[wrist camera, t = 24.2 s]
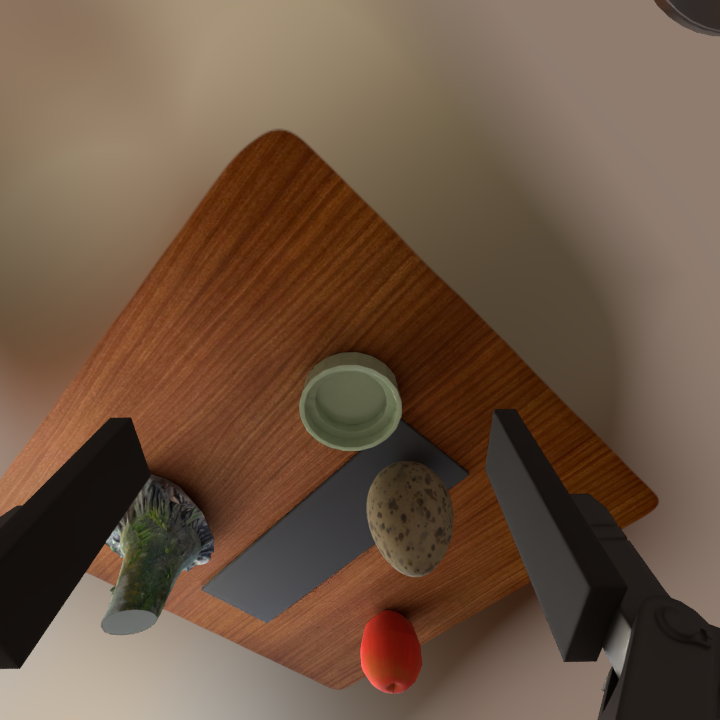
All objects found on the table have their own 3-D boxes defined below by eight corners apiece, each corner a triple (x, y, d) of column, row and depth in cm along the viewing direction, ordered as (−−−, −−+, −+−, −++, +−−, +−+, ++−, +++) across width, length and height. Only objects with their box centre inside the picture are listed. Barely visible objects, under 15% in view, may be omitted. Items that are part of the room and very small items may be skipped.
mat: (399, 416, 52) (399, 419, 52) (468, 471, 56) (469, 474, 56) (202, 586, 68) (201, 590, 67) (267, 620, 72) (266, 623, 71)
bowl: (399, 348, 48) (402, 363, 44) (398, 430, 53) (400, 450, 49) (299, 351, 48) (294, 366, 44) (308, 432, 53) (304, 452, 50)
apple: (351, 625, 73) (350, 701, 62) (377, 594, 69) (379, 671, 58) (399, 639, 75) (405, 716, 64) (427, 610, 71) (438, 687, 60)
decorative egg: (374, 506, 58) (378, 607, 45) (358, 449, 54) (357, 544, 40) (446, 494, 57) (472, 595, 44) (436, 436, 53) (462, 528, 39)
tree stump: (100, 444, 55) (44, 564, 40) (238, 475, 64) (235, 583, 49) (66, 529, 61) (6, 661, 46) (197, 547, 70) (182, 662, 55)
